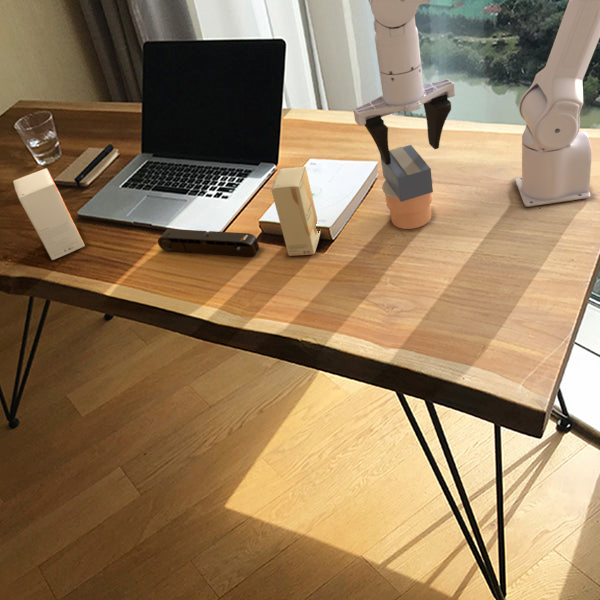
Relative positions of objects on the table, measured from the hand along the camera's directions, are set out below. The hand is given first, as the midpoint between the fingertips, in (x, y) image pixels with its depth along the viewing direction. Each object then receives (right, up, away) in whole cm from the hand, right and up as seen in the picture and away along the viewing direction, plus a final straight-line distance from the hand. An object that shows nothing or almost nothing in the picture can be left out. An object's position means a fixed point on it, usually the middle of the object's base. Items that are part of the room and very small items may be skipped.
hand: (410, 153), depth 102 cm
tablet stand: (-31, -14, +11) cm, 36 cm away
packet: (0, -4, +2) cm, 5 cm away
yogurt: (+1, -9, +6) cm, 11 cm away
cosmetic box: (-16, -13, +6) cm, 21 cm away
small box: (-59, -12, +22) cm, 64 cm away
